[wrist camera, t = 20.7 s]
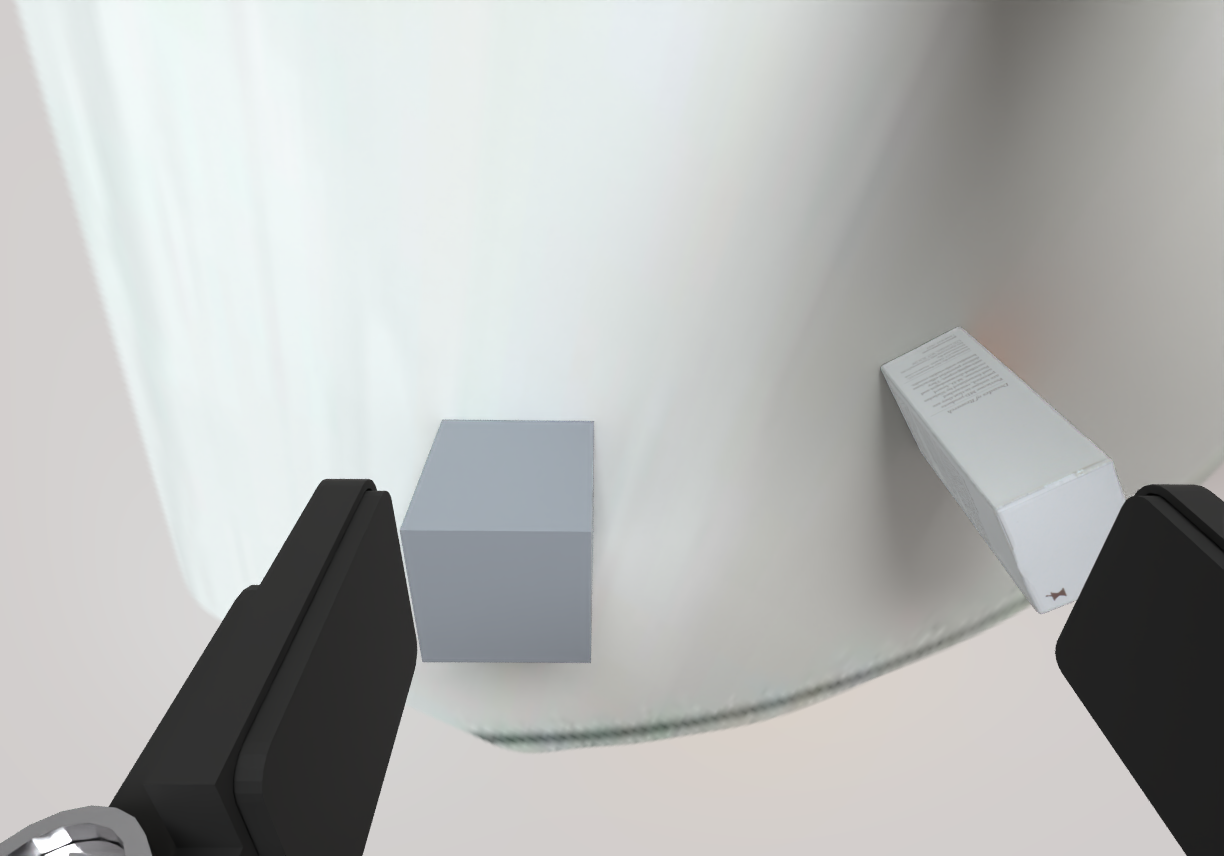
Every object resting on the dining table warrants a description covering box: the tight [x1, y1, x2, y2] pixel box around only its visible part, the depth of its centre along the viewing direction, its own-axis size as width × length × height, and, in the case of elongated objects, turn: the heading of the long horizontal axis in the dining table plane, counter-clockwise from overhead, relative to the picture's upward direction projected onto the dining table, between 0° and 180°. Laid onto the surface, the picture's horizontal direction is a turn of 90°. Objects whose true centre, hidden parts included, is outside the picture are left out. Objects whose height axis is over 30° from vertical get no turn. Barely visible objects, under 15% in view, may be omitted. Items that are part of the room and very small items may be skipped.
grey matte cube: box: [400, 420, 594, 663], centre depth 34 cm, size 8×8×9 cm
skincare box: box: [881, 327, 1126, 614], centre depth 30 cm, size 6×4×12 cm
